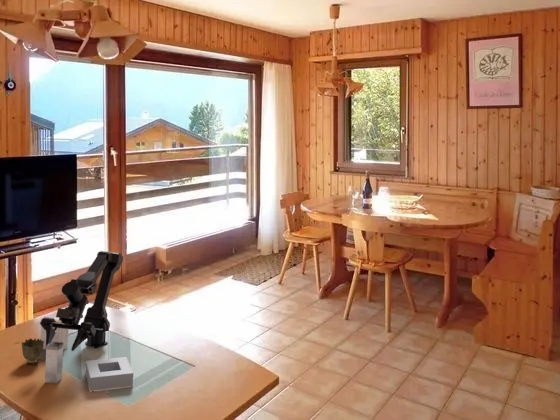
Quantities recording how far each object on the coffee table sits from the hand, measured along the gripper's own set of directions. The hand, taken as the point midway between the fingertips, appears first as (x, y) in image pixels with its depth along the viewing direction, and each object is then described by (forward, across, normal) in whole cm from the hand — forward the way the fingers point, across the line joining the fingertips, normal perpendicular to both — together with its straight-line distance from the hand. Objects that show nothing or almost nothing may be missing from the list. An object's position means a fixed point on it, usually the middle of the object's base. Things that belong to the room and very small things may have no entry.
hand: (59, 349), depth 184 cm
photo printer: (-8, -14, +23) cm, 28 cm away
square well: (+6, +18, +8) cm, 20 cm away
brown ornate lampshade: (+2, -14, +13) cm, 19 cm away
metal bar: (+9, 0, +5) cm, 11 cm away
